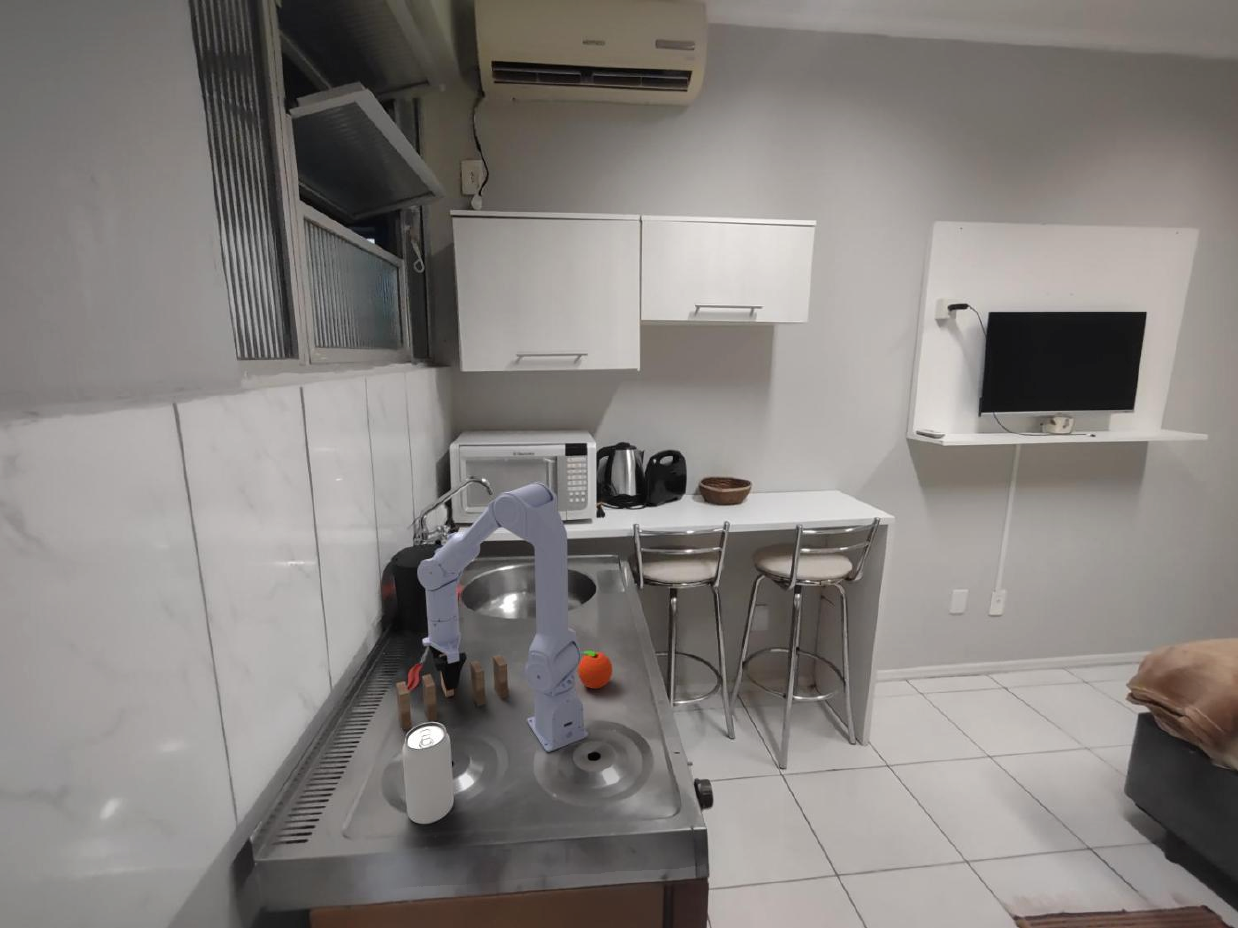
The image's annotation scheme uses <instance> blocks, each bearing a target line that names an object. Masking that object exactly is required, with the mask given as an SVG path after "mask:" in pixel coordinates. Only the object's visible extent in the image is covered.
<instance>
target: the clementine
mask: <svg viewBox="0 0 1238 928" xmlns="http://www.w3.org/2000/svg"><path fill="white" fill-rule="evenodd" d="M581 654H582V655H583V654H585V655H584V656H582V658H581V661H580V663H579V665H578V670H577V673H578V677H579V679H580V682H581V683H582V684H583V686H585V687H587V688H590V689H601V688H603V687H605V686H606V685H607V684H608V682H609V681H610V680H611V677H612V675H613V665H612V662H611V661H610V658H609V657H608V656H607V655H606V654H605V653H602V652H599V651H594V650H593V651H592V650H585V651H583V652H581Z"/></svg>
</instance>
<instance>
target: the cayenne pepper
mask: <svg viewBox="0 0 1238 928" xmlns="http://www.w3.org/2000/svg"><path fill="white" fill-rule="evenodd" d="M423 664H424V662H418V663H416V664H414V665H413V666H412V667H411V668H410V670H409V672H408V674H407V679H408V680H407V684H406V686H407V689H408V691H409V692H411V691H412V690H414V689H415V688H416V687H418V685H419V684H420V675H419V674H420V671H421V669H422V668H423V666H424V665H423Z"/></svg>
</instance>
